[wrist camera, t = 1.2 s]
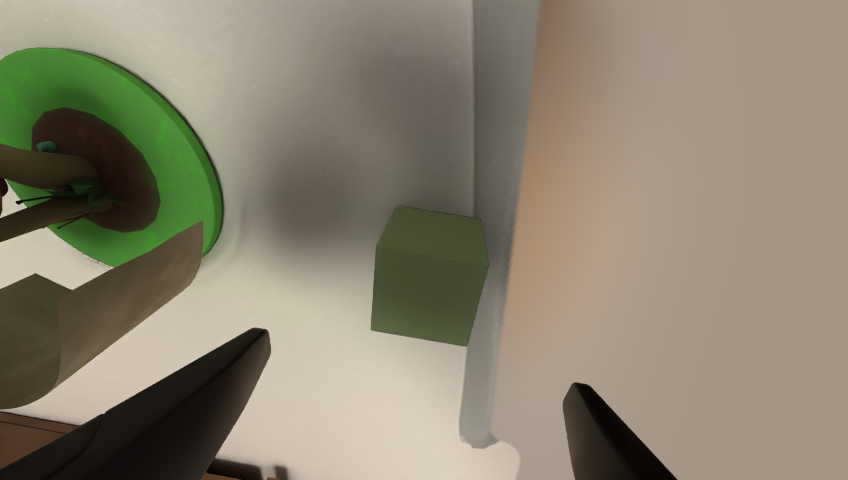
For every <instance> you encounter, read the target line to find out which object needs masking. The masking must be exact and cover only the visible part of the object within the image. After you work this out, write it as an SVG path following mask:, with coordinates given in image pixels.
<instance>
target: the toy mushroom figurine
mask: <svg viewBox="0 0 848 480" xmlns="http://www.w3.org/2000/svg"><path fill="white" fill-rule="evenodd" d="M5 179H6V180H7V182H8V183H9V185H10V186H11V188H12V189H13V190H14V192H15V193H16V194H17V196H18V197H19V198H20V201H16V203H17V204H18V205H19V204H21V203H24V204H25V205H26V206H27V208H26V209H23V210H20V211H18V212H15V213H13V214H10V215H7V216H5V217H2V218H0V242H2V241H5V240H8V239H11V238H14V237H17V236H20V235H23V234H26V233H28V232H31V231H34V230H37V229H40V228H45V227H46V226H47V227H48V228H49V229H50V230H51V231H53V232H54V233H55V234H56V235H57V236H59V237H60V238H61V239H63V240H64V241H65V242H67V243H68V244H70V245H71V246H73V247H74V248H76V249H77V250H79V251H81V252H82V253H84V254H86V255H88V256H90V257H92V258H94V259H96V260H98V261H100V262H102V263H104V264H107V265H109V266H112V267H115V268H113V269H111V270H109V271H107V272H105V273H104V274H102V275H100V276H98V277H96V278H94V279H93V280H91V281H89V282H87V283H85V284H83V285H81V286H80V287H78V288H76V289H74V290H71V289H68V288H66V287H64V286H62V285H60V284H57V283H55V282H53V281H51V280H49V279H47V278H44V277H42V276H40V275H38V274H36V273H35V274H33V275H31V276H29V277H26V278H24V279H22V280H20V281H18V282H15V283H13V284H11V285H9V286H6V287H4V288H2V289H0V409H10V408H17V407H21V406H25V405H28V404H30V403H32V402H34V401H36V400H38V399H40V398H41V397H43V396H45V395H46V394H48V393H49V392H50V391H52V390H53V389H54V388H56V387H57V386H58V385H59V384H61V383H62V382H63V381H65V380H66V379H67V378H69V377H70V376H71V375H73V374H74V373H75V372H77V371H78V370H79V369H80V368H82V367H83V366H84V365H86V364H87V363H88V362H90V361H91V360H92V359H93V358H95V357H96V356H97V355H99V354H100V353H101V352H103V351H104V350H105V349H106V348H108V347H109V346H110V345H112V344H113V343H114V342H116V341H117V340H118V339H120V338H121V337H122V336H124V335H125V334H126V333H128V332H129V331H130V330H132V329H133V328H134V327H136V326H137V325H138V324H140V323H141V322H142V321H144V320H145V319H146V318H148V317H149V316H150V315H152V314H153V313H154V312H156V311H157V310H158V309H159V308H161V307H162V306H163V305H165V304H166V303H167V302H169V301H170V300H171V299H173V298H174V297H175V296H177V295H178V294H179V293H181V292H182V291H183V290H184V289H185V288H187V287H188V286H189V285H190V284H191V282H192V281H193V279H194V278H195V276H196V274H197V272H198V269H199V266H200V262H201V258H202V257H203V256H204V255H205V254H206V253H207V252H208V251H209V250H210V249H211V247H212V246H213V244H214V243H215V241H216V239H217V236H218V233H219V230H220V225H221V217H222V205H221V197H220V191H219V187H218V183H217V179H216V177H215V174H214V171H213V168H212V166H211V164H210V162H209V160H208V158H207V155H206V154H205V152H204V150H203V148H202V147H201V145H200V143H199V142H198V140H197V139H196V137H195V136H194V134H193V133H192V131H191V130H190V129H189V127H188V126H187V125H186V123H185V122H184V121H183V119H182V118H181V117H180V116H179V115H178V114H177V113H176V112H175V111H174V109H173V108H172V107H171V106H170V105H169V104H168V103H167V102H166V101H165V100H164V99H162V98H161V97H160V96H159V95H158V94H157V93H156V92H154V91H153V90H152V89H151V88H150V87H149V86H147V85H146V84H144V83H143V82H142V81H140V80H139V79H138V78H136V77H135V76H133V75H131V74H130V73H128V72H127V71H125V70H123V69H122V68H120V67H118V66H116V65H114V64H112V63H110V62H108V61H105V60H103V59H100V58H98V57H95V56H93V55H89V54H86V53H82V52H78V51H73V50H67V49H56V48H29V49H24V50H20V51H16V52H14V53H12V54H10V55H8V56H6V57H4V58H3V59H2V60H0V215H1V213H2V197H3V196H4V195H5V194H6V193H7V192H8V186H7V183H6V181H5Z"/></svg>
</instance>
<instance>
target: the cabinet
mask: <svg viewBox="0 0 848 480" xmlns="http://www.w3.org/2000/svg"><path fill="white" fill-rule="evenodd" d="M78 427H79V426H73V425H68V424H62V423H57V422H51V421H46V420H40V419H35V418H30V417H24V416H19V415H13V414H8V413H2V412H0V469H1V468H3V467H4V466H6V465H8V464H10V463H12V462H14V461H16V460H18V459H20V458H22V457H24V456H26V455H28V454H30V453H31V452H33V451H35V450H37V449H39V448H41V447H43V446H45V445H47V444H49V443H51V442H52V441H54V440H56V439H58V438H60V437H61V436H63V435H65V434H67V433H69V432H70V431H72V430H74V429H76V428H78Z"/></svg>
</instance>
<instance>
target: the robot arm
mask: <svg viewBox="0 0 848 480" xmlns="http://www.w3.org/2000/svg"><path fill="white" fill-rule="evenodd" d="M270 354H271V344H270V337H269V332H268V330H266V329H261V328H252V329H250V330H248V331H246V332H244V333H243V334H241V335H239V336H237V337H236V338H234V339H232V340H230V341H229V342H227V343H225V344H223V345H222V346H220V347H218V348H216V349H215V350H213V351H211V352H209V353H208V354H206V355H204V356H202V357H201V358H199V359H197V360H195V361H194V362H192V363H190V364H188V365H187V366H185V367H183V368H181V369H180V370H178V371H176V372H174V373H172V374H171V375H169V376H167V377H165V378H164V379H162V380H160V381H158V382H157V383H155V384H153V385H151V386H150V387H148V388H146V389H144V390H143V391H141V392H139V393H137V394H136V395H134V396H132V397H130V398H129V399H127V400H125V401H123V402H122V403H120V404H118V405H116V406H115V407H113V408H111V409H109V410H108V411H106V412H105V414H101V415H99V416H97V417H95V418H94V419H92V420H90V421H88V422H87V423H85V424H83V425H81V426H79V427H78V428H76V429H74V430H72V431H70V432H69V433H67V434H65V435H63V436H61V437H60V438H58V439H56V440H54V441H52V442H51V443H49V444H47V445H45V446H43V447H41V448H39V449H37V450H35V451H33V452H31V453H30V454H28V455H26V456H24V457H22V458H20V459H18V460H16V461H14V462H12V463H10V464H8V465H6V466H4V467H3V468H1V469H0V480H201V479H202V477H203V476H204V474H205V472H206V471H207V469H208V467H209V466H210V464H211V462H212V461H213V459H214V458H215V456H216V454H217V453H218V451H219V449H220V448H221V446H222V444H223V443H224V441H225V440H226V438H227V436H228V435H229V433H230V431H231V430H232V428H233V426H234V425H235V423H236V422H237V420H238V418H239V417H240V415H241V413H242V411H243V410H244V408H245V406H246V404H247V402H248V400H249V398H250V396H251V394H252V392H253V390H254V388H255V386H256V384H257V382H258V380H259V378H260V376H261V374H262V371H263V369H264V367H265V365H266V363H267V361H268V359H269V357H270ZM563 412H564V419H565V425H566V431H567V439H568V445H569V452H570V458H571V463H572V468H573V473H574V477H575V480H677V479H676V477H674V475H673V474H672V473H671V472H670V471H669V470H668V469H667V468H666V467H665V466H664V465H663V464H662V463H661V462H660V461H659V459H658V458H657V457H656V456H655V455H654V454H653V453H652V452H651V451H650V450H649V449H648V447H647V446H646V445H645V444H644V443H643V442H642V441H641V440H640V439H639V438H638V437H637V436H636V435H635V434H634V433H633V431H632V430H631V429H630V428H629V427H628V426H627V425H626V424H625V423H624V422H623V421H622V420H621V419H620V417H619V416H618V415H617V414H616V413H615V412H614V411H613V410H612V409H611V408H610V407H609V406H608V405H607V404H606V403H605V401H604V400H603V399H602V398H601V397H600V396H599V395H598V394H597V393H596V392H595V391H594V390H593V388H592V387H590V386H589V385H587V384H582V383H573V384H572V385H571V387H570V389H569V391H568V393H567V395H566V396H565V398H564V401H563Z"/></svg>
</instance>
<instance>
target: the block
mask: <svg viewBox="0 0 848 480" xmlns="http://www.w3.org/2000/svg"><path fill="white" fill-rule="evenodd" d="M488 267H489V262H488V256H487V250H486V244H485V238H484V232H483V226H482V220H481V219H476V218H470V217H463V216H457V215H451V214H444V213H438V212H432V211H425V210H419V209H412V208H406V207H400V206H396V208H395V210H394V212H393V214H392V216H391V218H390V220H389V222H388V224H387V226H386V228H385V230H384V232H383V234H382V236H381V238H380V240H379V242H378V244H377V246H376V256H375V271H374V286H373V302H372V317H371V330H372V331H377V332H383V333H389V334H395V335H401V336H407V337H413V338H418V339H424V340H430V341H436V342H442V343H448V344H454V345H460V346H467V345H468V342H469V338H470V334H471V330H472V327H473V323H474V319H475V316H476V312H477V308H478V304H479V301H480V297H481V293H482V289H483V286H484V282H485V278H486V274H487V271H488Z"/></svg>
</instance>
